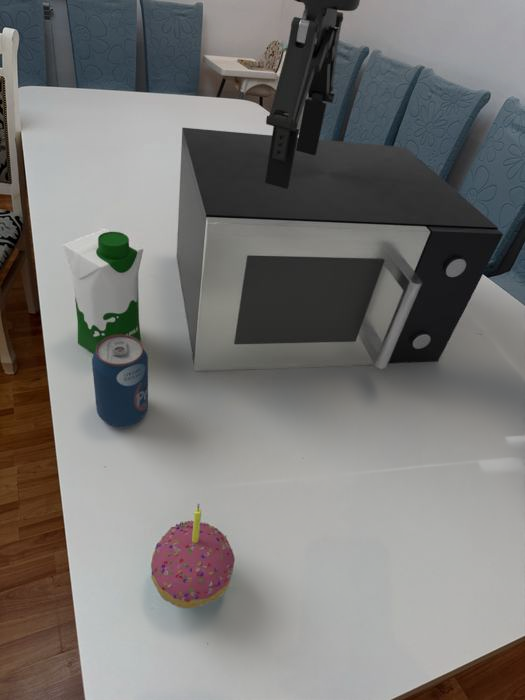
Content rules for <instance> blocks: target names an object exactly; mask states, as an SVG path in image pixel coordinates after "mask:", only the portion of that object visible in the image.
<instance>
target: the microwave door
mask: <svg viewBox="0 0 525 700" xmlns="http://www.w3.org/2000/svg"><path fill="white" fill-rule="evenodd" d="M429 234H430V231H429V230H428V228H427V227H425V226H403V225H380V224H357V223H333V222H310V221H287V220H264V219H241V218H218V217H206V227H205V239H204V251H203V263H202V275H201V286H200V298H199V310H198V322H197V334H196V346H195V358H194V363H193V367H194V372H215V371H217V372H219V371H240V370H241V371H243V370H271V369H275V370H276V369H296V368H297V369H300V368H325V367H353V366H374V367H376V368H377V369H380V370H384V369H386V368H387V367H388V364H389V363H388V362H389V359H390V357H391V355H392V352H393V350H394V348H395V345H396V343H397V341H398V338H399V336H400V334H401V331H402V329H403V327H404V324H405V322H406V320H407V317H408V315H409V313H410V310H411V308H412V306H413V303H414V301H415V298H416V296H417V294H418V291H419V289H420V287H421V284H422V280H421V279H420V278H419V277H418V275H417V274H416V273H415V272H414V271H415V269H416V266H417V264H418V261H419V259H420V256H421V254H422V251H423V249H424V247H425V244H426V242H427V239H428V237H429Z"/></svg>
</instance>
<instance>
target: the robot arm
mask: <svg viewBox="0 0 525 700" xmlns="http://www.w3.org/2000/svg"><path fill="white" fill-rule="evenodd" d="M294 1H295V2H297V3H303V5H304V10H303V13H302V17H297V16H294V17H293V18H292V20H291V22H290V23H291V24H290V30H289V31H290V32H289V37H288V43H287V45H286V51H285V55H284V58H283V62H282V66H281V70H280V73H279V77H278V81H277V85H276V89H275V93H274V95H273V100H272V105H271V108H270V112H269V115H267V116H266V119H265V124H266V125H268V126H272V127H273V128H272V134H271V135H272V140H271V147H270V153H269V160H268V167H267V173H266V180H265V183H267V184H271V185H275V186H278V187H282V188H286V189H287V188H288V187H289V182H290V176H291V171H292V165H293V160H294V154H295V149H296V151H300V152H304V153H307V154H311V155H315V154H316V152H317V147H318V142H319V140H320V137H321V133H322V127H323V123H324V118H325V115H326V114H325V113H326V108H327V103H329V104H330V103H331V104H332V103H333V102H334V99H335V93H332V92H333V90H334V80H335V73H336V64H337V58H338V50H339V49H338V48H339V41H340V34H341V28H342V24H343V21H344V12H353V11H355V10H357V9H358V8H359V6H360V3H361V0H294ZM341 11H343V12H341ZM307 97H308V98H307ZM301 115H302V116H301ZM300 118H301V120H300ZM299 121H301V123H300V125H299ZM298 125H299V128H298ZM297 138H298V143H297ZM296 144H297V148H296Z"/></svg>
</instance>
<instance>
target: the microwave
mask: <svg viewBox="0 0 525 700" xmlns="http://www.w3.org/2000/svg"><path fill="white" fill-rule="evenodd" d="M271 140H272V134H261V133H250V132H239V131H238V132H237V131H227V130H215V129H204V128H194V127H182V128H181V147H180V149H181V150H180V168H179V169H180V170H179V172H180V173H179V196H178V214H177V215H178V217H177V236H176V237H177V239H176V262H177V267H178V273H179V274H178V275H179V282H180V287H181V292H182V300H183V306H184V312H185V319H186V325H187V331H188V337H189V338H188V339H189V343H190V350H191V356H192V363H193V364H194V358H195V346H196V334H197V322H198V310H199V298H200V286H201V275H202V263H203V251H204V239H205V227H206V217H218V218H241V219H264V220H287V221H310V222H333V223H357V224H380V225H403V226H425V227H427V228H428V230H429V231H430V234H429V237H428V239H427V242H426V244H425V247H424V249H423V251H422V254H421V256H420V259H419V261H418V264H417V266H416V269H415V271H414V272H415V273H416V274H417V275H418V277H419V278H420V279H421V280H422V284H421V287H420V289H419V291H418V294H417V296H416V298H415V301H414V303H413V306H412V308H411V310H410V313H409V315H408V317H407V320H406V322H405V324H404V327H403V329H402V331H401V334H400V336H399V338H398V341H397V343H396V345H395V348H394V350H393V352H392V355H391V357H390V359H389V362H388V364H403V363H407V364H409V363H428V362H429V363H432V362H433V363H434V362H435V363H436V362H439V361H440V359H441V357H442V354H443V353H444V351H445V349H446V347H447V345H448V343H449V341H450V339H451V337H452V335H453V333H455V330H456V327H457V325H458V324H459V322H460V320H461V318H462V315H463V314H464V312H465V310H466V309H467V306H468V304H469V302H470V301H471V298H472V297H473V295H474V293H475V291H476V289H477V287H478V285H479V283H480V281H481V279H482V277H483V276H484V273H485V271H486V269H487V267H488V265H489V263H490V261H491V259H492V258H493V256H494V254H495V252H496V250H497V248H498V247H499V244H500V242H501V240H502V238H503V236H504V233H503V232H502V231H501V230H500V229H499V227H498V226H497V225H496V224H495V223H494V222H493V221H491V220H490V219H489V218H488V217H487V216H485V215H484V214H483V213H482V212H481V211H480V210H478V208H476V207H475V206H474V205H473V204H472V203H471V202H470V201H468V200H467V199H466V198H465V197H464V196H463V195H462V194H460V192H458V191H457V190H456V189H455V188H453V186H451V185H450V184H449V183H448V182H447V181H446V180H444V179H443V178H442V176H440V175H439V174H438V173H437V172H435V171H434V170H433V169H432V168H431V167H429V166H428V165H427V164H426V163H425V162H424V161H423V160H422V159H420V158H419V157H418V156H417V155H416V154H414V152H413V151H411V150H410V149H409V148H408V147H406V146H398V145H397V146H396V145H387V144H386V145H385V144H374V143H373V144H372V143H364V142H363V143H362V142H349V141H341V140H340V141H339V140H328V139H319V142H318V147H317V152H316V154H315V155H311V154H307V153H304V152H300V151H296V149H295V154H294V160H293V165H292V171H291V176H290V182H289V187H288V188H287V189H286V188H282V187H278V186H275V185H271V184H267V183H265V180H266V173H267V167H268V160H269V153H270V147H271ZM297 143H298V138H297ZM296 148H297V144H296Z"/></svg>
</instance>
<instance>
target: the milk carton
mask: <svg viewBox="0 0 525 700" xmlns="http://www.w3.org/2000/svg"><path fill="white" fill-rule="evenodd" d="M62 246H63V249H64V252H65V257H66V259H67V262H68V266H69V270H70V272H71V276H72V277H71V278H72V284H73V285H72V286H73V293H74V302H75V311H76V319H77V320H76V321H77V344H78V345H79V346H81V347H82V348H84V349H85V350H87V352H89V353H91V354H93V355H94V353H95V351H96V347H97V345H98V344H99V342H100V341H102V340H103V339H105V338H106V337H109V336H113V335H128V336H132V337H134V338H136V339H138V340H139V341H140V342H141V343H142V337H141V328H140V327H141V325H140V309H139V307H140V305H139V301H140V299H139V298H140V297H139V271H140V267H141V261H142V257H143V253H144V248H143V247H141V246H140V245H137V244H136V243H135V242H132V241H130V238H129V236H128V235H126V234H125V233H123V232H120V231H112V230H109V229H108V228H102V229H99V230H98V231H95V232H92V233H89V234H87V235H83V236H81V237H79V238H76V239H73V240H71V241H68V242H65V243H63V244H62Z"/></svg>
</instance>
